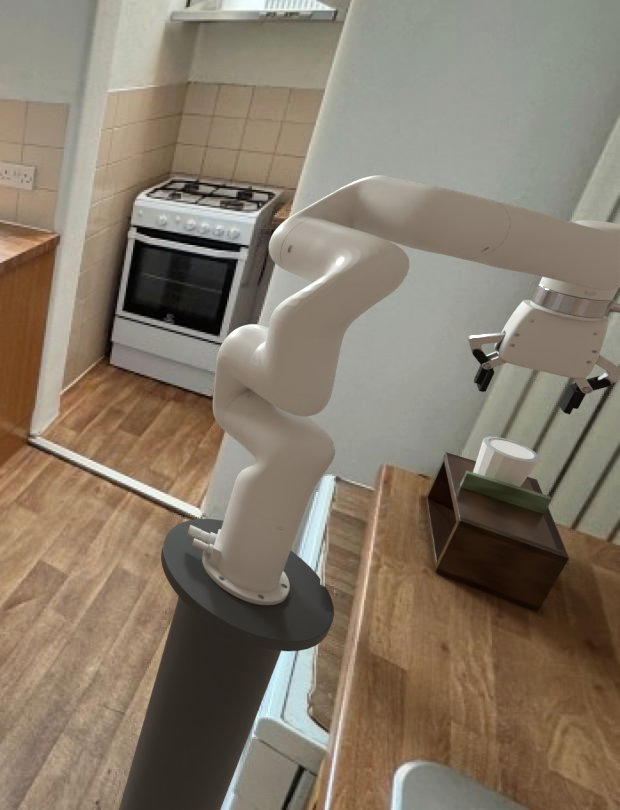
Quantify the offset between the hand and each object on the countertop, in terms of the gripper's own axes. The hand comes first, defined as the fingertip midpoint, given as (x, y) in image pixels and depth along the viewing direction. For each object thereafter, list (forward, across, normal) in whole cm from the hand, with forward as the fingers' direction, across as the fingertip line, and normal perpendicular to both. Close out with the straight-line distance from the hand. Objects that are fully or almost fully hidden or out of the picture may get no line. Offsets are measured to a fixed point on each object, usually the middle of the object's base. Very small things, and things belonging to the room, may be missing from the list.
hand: (521, 398), depth 97 cm
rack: (+28, -2, +2) cm, 28 cm away
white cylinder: (+17, -2, -3) cm, 18 cm away
